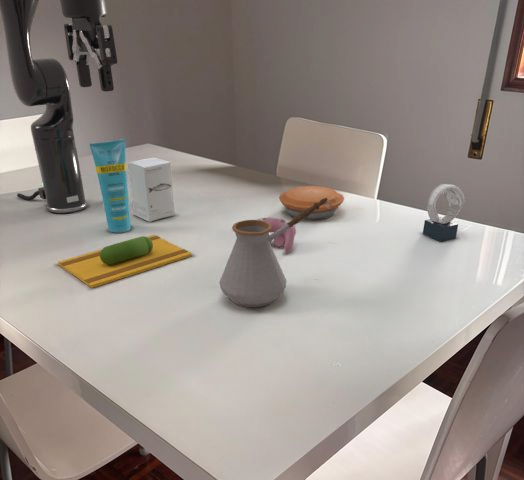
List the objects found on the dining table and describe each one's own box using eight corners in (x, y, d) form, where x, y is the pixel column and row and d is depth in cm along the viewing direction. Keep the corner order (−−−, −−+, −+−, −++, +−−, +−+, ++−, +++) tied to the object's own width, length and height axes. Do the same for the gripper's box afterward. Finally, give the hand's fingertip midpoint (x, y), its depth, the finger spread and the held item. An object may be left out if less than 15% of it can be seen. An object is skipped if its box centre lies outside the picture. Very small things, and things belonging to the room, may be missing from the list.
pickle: (95, 257, 109) (97, 244, 106) (145, 243, 115) (148, 230, 113) (104, 270, 108) (106, 258, 105) (154, 255, 114) (157, 243, 112)
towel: (57, 264, 111) (57, 261, 110) (153, 237, 123) (153, 234, 123) (92, 288, 102) (91, 284, 101) (191, 256, 114) (191, 252, 113)
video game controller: (294, 255, 117) (299, 221, 117) (289, 253, 113) (294, 217, 112) (250, 249, 120) (254, 216, 119) (243, 247, 116) (247, 213, 115)
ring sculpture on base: (462, 236, 121) (472, 185, 116) (434, 243, 118) (442, 191, 112) (444, 228, 126) (452, 179, 120) (416, 235, 122) (423, 184, 117)
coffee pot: (240, 319, 91) (237, 230, 83) (208, 292, 100) (203, 209, 92) (344, 288, 100) (351, 205, 93) (307, 266, 109) (310, 189, 101)
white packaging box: (149, 222, 131) (143, 167, 124) (133, 215, 136) (126, 161, 129) (176, 215, 135) (171, 161, 128) (159, 208, 140) (153, 156, 133)
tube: (108, 235, 124) (93, 145, 114) (100, 229, 127) (85, 141, 117) (139, 229, 127) (128, 140, 117) (131, 223, 131) (119, 136, 121)
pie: (321, 227, 127) (322, 206, 124) (266, 214, 135) (266, 194, 132) (355, 209, 137) (356, 189, 135) (302, 198, 145) (302, 179, 143)
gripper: (121, -16, 94) (133, 90, 102) (82, -14, 103) (97, 83, 111) (79, -16, 89) (96, 95, 98) (42, -15, 98) (60, 87, 107)
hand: (96, 88), depth 105 cm, fingers open, 8 cm apart
